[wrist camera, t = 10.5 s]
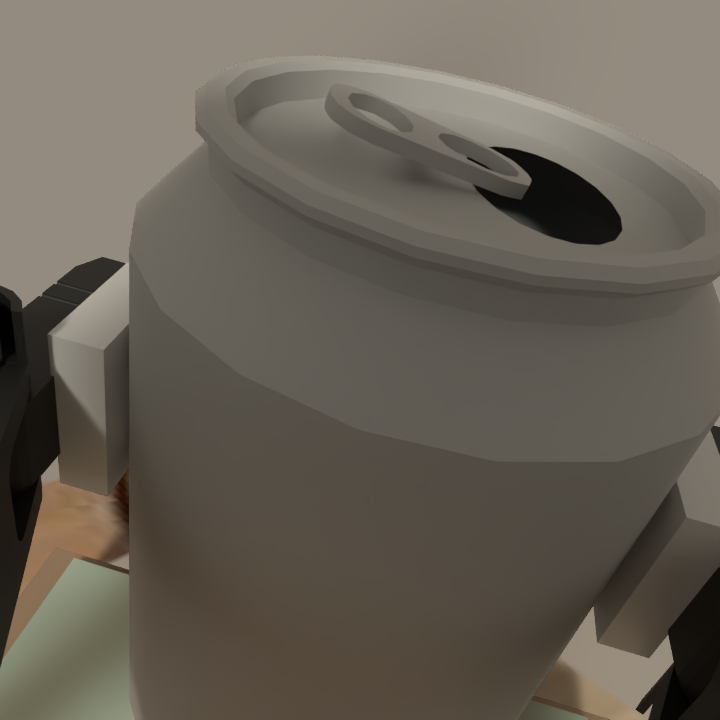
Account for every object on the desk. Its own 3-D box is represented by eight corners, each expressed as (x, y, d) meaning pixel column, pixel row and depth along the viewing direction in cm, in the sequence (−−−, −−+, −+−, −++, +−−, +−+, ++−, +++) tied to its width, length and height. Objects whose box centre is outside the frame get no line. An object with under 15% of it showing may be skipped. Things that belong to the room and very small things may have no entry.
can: (517, 896, 12) (1033, 358, 5) (79, 886, 11) (-4, 189, 4) (454, 551, 18) (653, 92, 11) (168, 523, 17) (194, -3, 10)
